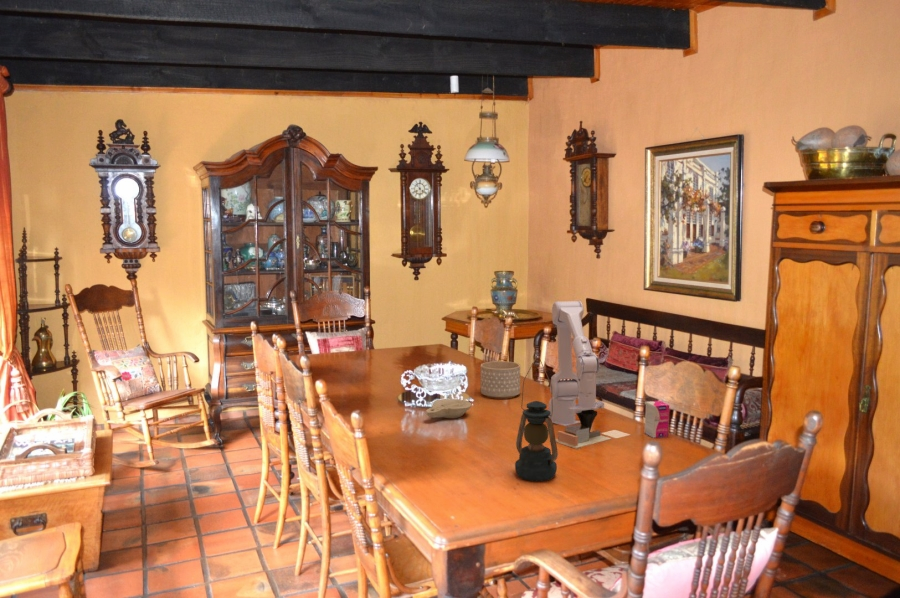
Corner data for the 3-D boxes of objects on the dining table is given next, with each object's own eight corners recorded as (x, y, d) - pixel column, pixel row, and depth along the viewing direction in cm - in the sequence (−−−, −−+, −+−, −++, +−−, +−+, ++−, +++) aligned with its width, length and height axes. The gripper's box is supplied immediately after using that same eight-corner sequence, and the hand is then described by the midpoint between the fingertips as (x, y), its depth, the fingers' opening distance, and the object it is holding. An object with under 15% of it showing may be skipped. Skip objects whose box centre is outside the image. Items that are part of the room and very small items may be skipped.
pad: (600, 434, 249) (600, 433, 249) (614, 430, 253) (614, 429, 253) (616, 439, 243) (616, 438, 243) (630, 435, 247) (630, 434, 247)
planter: (476, 398, 299) (476, 367, 298) (486, 389, 315) (486, 360, 314) (515, 401, 295) (515, 370, 293) (523, 391, 310) (523, 362, 309)
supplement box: (653, 439, 243) (654, 405, 241) (644, 434, 248) (644, 401, 247) (668, 438, 244) (669, 404, 243) (659, 433, 250) (660, 400, 249)
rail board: (554, 441, 241) (554, 430, 241) (588, 433, 250) (589, 422, 250) (576, 449, 233) (576, 438, 232) (611, 440, 242) (611, 429, 242)
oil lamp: (444, 427, 258) (444, 413, 258) (413, 420, 267) (413, 407, 266) (478, 414, 275) (478, 401, 274) (448, 408, 283) (448, 396, 283)
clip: (564, 440, 240) (565, 427, 240) (577, 437, 244) (578, 424, 243) (575, 444, 236) (576, 430, 236) (589, 440, 240) (589, 427, 239)
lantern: (503, 474, 210) (504, 354, 207) (529, 464, 219) (530, 348, 215) (542, 487, 200) (543, 360, 196) (568, 476, 209) (570, 355, 205)
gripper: (580, 397, 233) (579, 439, 235) (611, 391, 242) (610, 431, 243) (564, 393, 239) (563, 433, 240) (595, 387, 247) (594, 426, 249)
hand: (586, 432), depth 242 cm, fingers closed
